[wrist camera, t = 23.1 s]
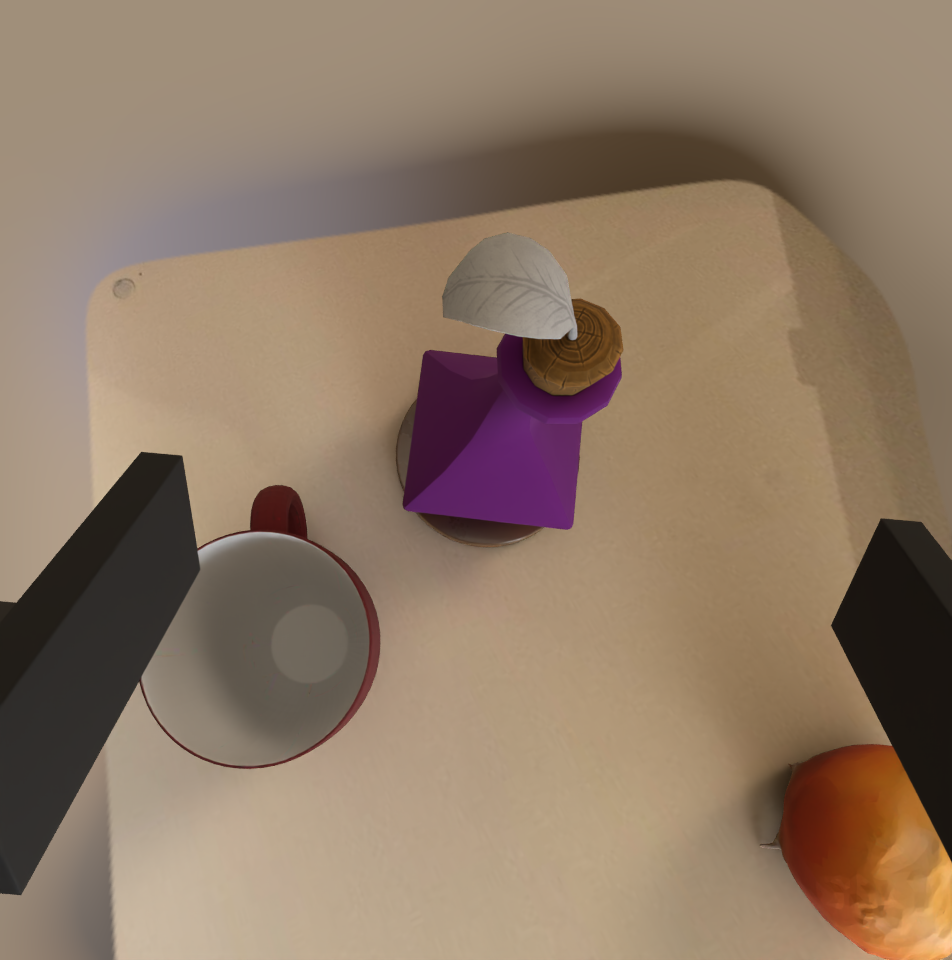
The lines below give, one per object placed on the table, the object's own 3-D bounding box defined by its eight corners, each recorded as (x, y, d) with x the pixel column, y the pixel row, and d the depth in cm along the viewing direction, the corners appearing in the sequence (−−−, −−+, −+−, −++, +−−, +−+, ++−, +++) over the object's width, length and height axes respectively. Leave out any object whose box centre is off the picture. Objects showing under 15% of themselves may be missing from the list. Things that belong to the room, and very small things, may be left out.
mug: (203, 530, 36) (109, 489, 26) (366, 492, 37) (333, 439, 27) (241, 752, 34) (154, 798, 24) (413, 708, 34) (395, 736, 25)
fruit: (743, 705, 33) (927, 752, 27) (843, 733, 37) (1027, 780, 30) (709, 894, 32) (896, 996, 25) (818, 903, 36) (1006, 993, 29)
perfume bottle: (575, 391, 37) (683, 167, 19) (562, 539, 35) (666, 442, 18) (426, 374, 37) (399, 133, 19) (406, 521, 35) (356, 406, 18)
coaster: (380, 528, 36) (378, 525, 35) (417, 358, 38) (415, 351, 37) (561, 562, 36) (564, 560, 35) (589, 390, 38) (592, 383, 37)
